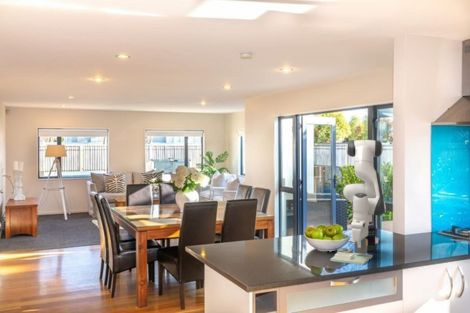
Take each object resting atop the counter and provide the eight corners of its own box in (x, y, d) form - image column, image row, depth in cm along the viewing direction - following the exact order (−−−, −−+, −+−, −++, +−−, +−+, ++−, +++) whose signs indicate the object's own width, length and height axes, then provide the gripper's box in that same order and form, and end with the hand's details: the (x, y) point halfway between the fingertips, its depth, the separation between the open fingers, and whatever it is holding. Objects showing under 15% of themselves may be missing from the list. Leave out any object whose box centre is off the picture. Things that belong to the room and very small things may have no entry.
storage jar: (376, 253, 258) (376, 228, 258) (359, 253, 260) (359, 227, 260) (375, 250, 268) (374, 225, 268) (358, 249, 270) (358, 225, 270)
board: (341, 253, 259) (341, 246, 259) (372, 257, 250) (372, 249, 250) (330, 260, 242) (330, 253, 242) (363, 264, 233) (363, 256, 233)
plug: (356, 251, 252) (356, 237, 252) (368, 252, 249) (367, 238, 248) (354, 252, 248) (354, 238, 248) (366, 254, 245) (366, 240, 245)
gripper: (360, 219, 259) (360, 242, 259) (350, 224, 241) (350, 249, 242) (371, 219, 256) (371, 243, 256) (361, 225, 238) (361, 250, 238)
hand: (360, 246), depth 249 cm, fingers closed on plug, 4 cm apart
